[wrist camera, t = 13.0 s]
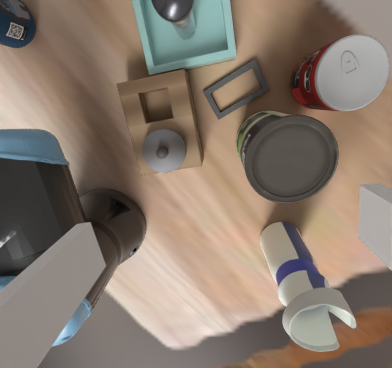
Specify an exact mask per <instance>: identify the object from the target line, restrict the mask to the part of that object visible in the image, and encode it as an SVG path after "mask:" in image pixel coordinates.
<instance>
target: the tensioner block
mask: <svg viewBox="0 0 392 368" xmlns="http://www.w3.org/2000/svg"><path fill="white" fill-rule="evenodd" d="M117 88H118V92H119V95H120V99H121V103H122V106H123V110H124V114H125V118H126V121H127V125H128V129H129V132H130V136H131V140H132V143H133V147H134V151H135V155H136V158H137V162H138V166H139V169H140V173H141V176H142V175H148V174H154V173H168V172H172V171H174V170H179V169H185V168H192V167H198V166H202V163H203V153H202V148H201V142H200V137H199V131H198V126H197V120H196V115H195V109H194V104H193V98H192V93H191V87H190V82H189V76H188V73H187V72H186V71H185V70H184V69H182V70H177V71H173V72H168V73H164V74H159V75H155V76H150V77H146V78H141V79H137V80H132V81H128V82H123V83H119V84H117Z"/></svg>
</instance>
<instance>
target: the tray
mask: <svg viewBox="0 0 392 368" xmlns="http://www.w3.org/2000/svg"><path fill="white" fill-rule="evenodd" d="M132 3H133V7H134V11H135V16H136V20H137V24H138V29H139V33H140V38H141V42H142V46H143V51H144V55H145V60H146V64H147V68H148V73H149V75H150V76H155V75H159V74H164V73H168V72H173V71H177V70H182V69H184V70H189V69H193V68H198V67H202V66H207V65H211V64H216V63H220V62H225V61H229V60H234V59H235V58H236V56H237V55H236V47H235V39H234V31H233V22H232V14H231V6H230V0H194V5H193V8H192V12H193V16H194V19H195V23H196V32H195V34H194V36H193V37H192V38H190V39H182V38H181V37H179V35H178V34H177V32H176V30H175V29H174V27H173V25H172V24H171V22H168V21H166V20H164V19H163V18H161V17H160V16H159V14H158V13H157V12H156V10H155V9H154V7H153V4H152V1H151V0H132Z"/></svg>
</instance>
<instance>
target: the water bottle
mask: <svg viewBox="0 0 392 368" xmlns="http://www.w3.org/2000/svg"><path fill="white" fill-rule="evenodd" d="M260 245H261V248H262V250H263V253H264V255H265V258H266V260H267V263H268V266H269V269H270V272H271V275H272V277H273V279H274V280H275V282H276V283H277V284H278V296H279V299H280V301H281V302H282V303H283V304H284V305H285V306H286V309H285V311H284V314H283V326H284V329H285V330H286V332H287V333H288V334H289V336H290V337H291V338H292V339H293V341H294V342H295V343H297V344H298V345H300V346H302V347H304V348H306V349H309V350H313V351H331V350H336V349H338V348H339V346H340V345H339V343H338V341H337V338H336V335H335V332H334V329H333V327H332V324H331V321H330V317H329V314H328V311H330V312H331V313H333V314H334V315H336V316H337V317H339V318H340V319H341V320H342V321H344V322H345V323H346V324H347V325H349V326H350V327H352V328H356V321H355V318H354V316H353V314H352V312H351V310H350V308H349V306H348V304H347V303H346V301H345V299H344V298H343V296H342V294H341V293H340V292H339V291H337V290H334V289H331V288H330V286H329V283H328V281H327V280H326V278H325V277H324V276H322V275H321V274H320V273H319V271H318V268H317V264H316V262H315V260H314V258H313V256H312V254H311V253H310V251H309V249H308V248H307V246H306V244H305V242H304V240H303V238H302V236H301V234H300V232H299V231H298V229H297V228H296V227H295V226H294V225H292V224H290V223H287V222H276V223H273V224H270V225H269V226H267V227H266V228H265V229H264V230H263V231H262V233H261V235H260Z"/></svg>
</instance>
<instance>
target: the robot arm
mask: <svg viewBox="0 0 392 368" xmlns="http://www.w3.org/2000/svg"><path fill="white" fill-rule="evenodd" d="M145 234H146V222H145V218H144V216H143V213H142V211H141V210H140V208H139V207H138V206H137V204H136V203H135V202H134V201H133V200H132V199H130V198H129V197H128V196H126V195H124V194H122V193H120V192H118V191H115V190H110V189H96V190H92V191H89V192H87V193H86V194H84V195H83V196H81V197H80V198H79V196H78V193H77V191H76V188H75V185H74V182H73V178H72V175H71V172H70V169H69V163H68V161H66V159H65V157H64V154H63V152H62V150H61V147H60V145H59V142H58V140H57V139H56V137H55V136H54V135H53V134H51V133H50V132H47V131H45V130H40V129H0V368H37V367H38V366H39V364H40V363H41V361H42V360H43V358H44V357H45V355H46V354H47V352H48V351H49V349H50V348H51V347H52V346H55V345H59V344H61V343H64V342H66V341H67V340H69V339H70V338H71V337H72V336H73V335H75V333H76V332H77V331H78V329H79V328H80V326H81V325H82V323H83V322H84V320H85V319H86V318H87V317H88V316H89V315H90V314H91V312H92V309H93V308H94V306H95V304H96V302H97V301H98V299H99V297H100V295H101V294H102V292H103V290H104V289H105V287H106V285H107V283H108V282H109V280H110V278H111V277H112V275H113V273H114V271H115V270H116V268H117V266H118V265H120V264H121V263H123V262H124V261H125V260H127V259H128V258H130V257H131V256H132V255H134V254H135V253H136V251H137V250H138V249H139V247H140V246H141V244H142V242H143V240H144V237H145ZM358 239H360V240H361V241H362V242H363V243H364V244H365V245H366V246H367V247H368V248H369V249H370V250H371V251H372V252H373V253H374V254H375V255H376V256H377V257H378V258H379V259H380V260H381V261H382V262H383V263H384V264H385V265H386V266H387V267H388V268H390V269H391V270H392V189H390V188H388V187H386V186H384V185H382V184H380V183H371V184H364V185H360V194H359V231H358Z"/></svg>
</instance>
